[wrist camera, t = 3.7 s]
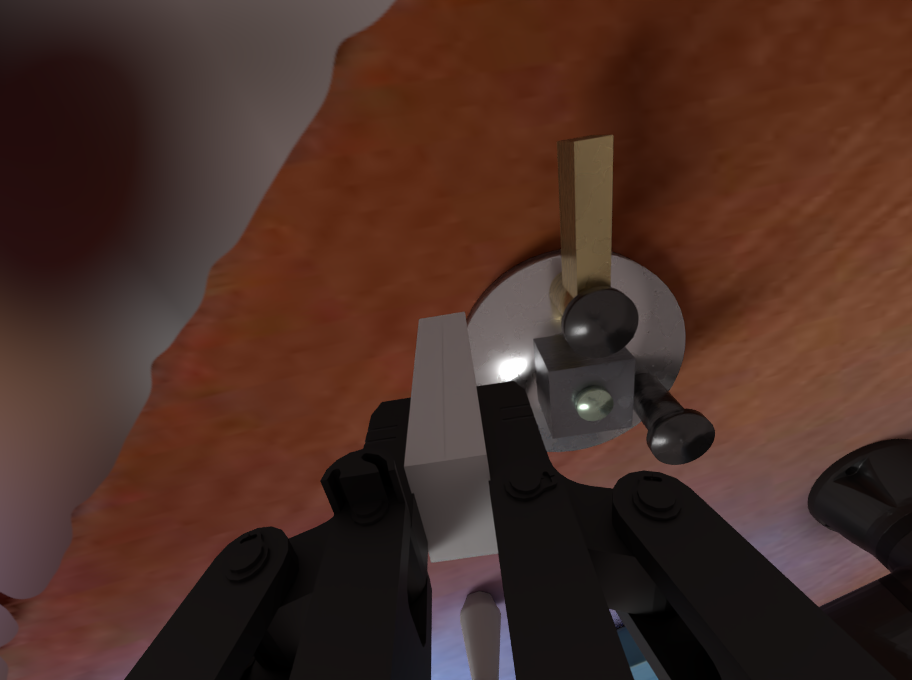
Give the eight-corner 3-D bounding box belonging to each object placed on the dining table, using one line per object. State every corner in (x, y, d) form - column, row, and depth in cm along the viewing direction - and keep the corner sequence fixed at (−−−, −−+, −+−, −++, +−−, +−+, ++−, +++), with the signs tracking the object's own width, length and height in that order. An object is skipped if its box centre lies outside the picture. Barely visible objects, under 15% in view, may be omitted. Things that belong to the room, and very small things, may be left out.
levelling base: (684, 228, 36) (766, 259, 27) (665, 424, 46) (720, 493, 37) (440, 268, 37) (440, 311, 28) (473, 452, 46) (481, 527, 38)
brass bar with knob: (599, 311, 37) (636, 352, 30) (542, 320, 37) (566, 363, 30) (600, 132, 30) (648, 130, 23) (530, 144, 30) (557, 146, 23)
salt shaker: (494, 584, 58) (508, 697, 46) (502, 607, 60) (517, 719, 49) (455, 591, 58) (459, 705, 46) (463, 614, 61) (469, 727, 49)
